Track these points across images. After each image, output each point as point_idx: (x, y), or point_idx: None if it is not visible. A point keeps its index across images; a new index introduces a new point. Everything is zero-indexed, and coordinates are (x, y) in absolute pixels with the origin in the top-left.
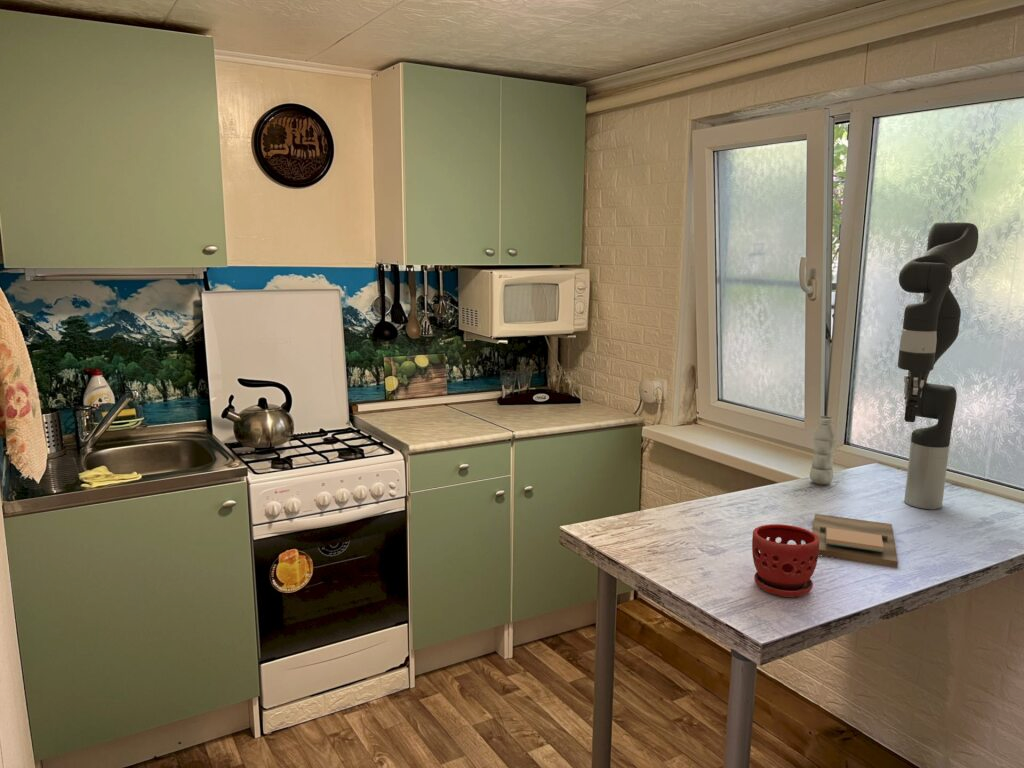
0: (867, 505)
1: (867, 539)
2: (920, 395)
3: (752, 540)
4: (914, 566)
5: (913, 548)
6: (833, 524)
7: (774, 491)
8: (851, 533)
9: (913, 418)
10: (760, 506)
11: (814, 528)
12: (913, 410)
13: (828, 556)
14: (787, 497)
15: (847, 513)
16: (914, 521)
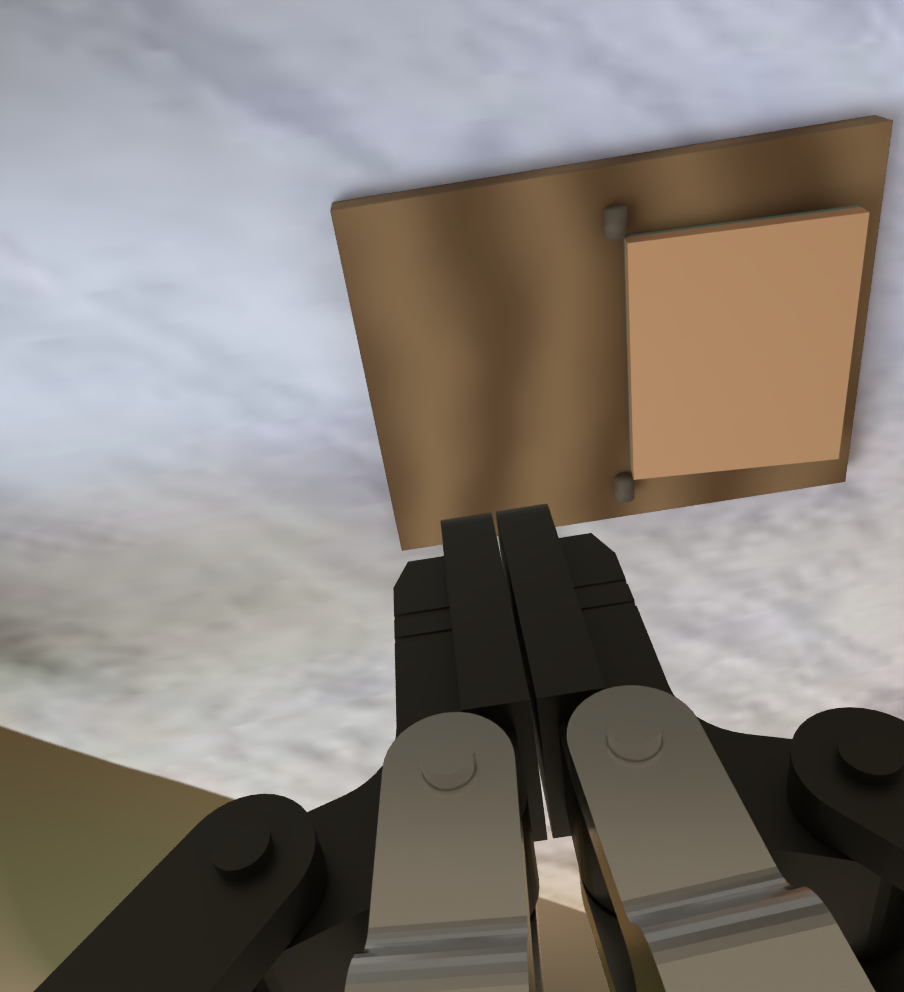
0: (7, 366)
1: (758, 298)
2: (842, 958)
3: None
4: (828, 30)
5: (564, 57)
6: (505, 460)
7: (139, 725)
8: (679, 375)
9: (615, 554)
10: (371, 718)
11: (599, 515)
12: (656, 672)
13: None
14: (181, 672)
15: (218, 430)
16: (89, 89)
